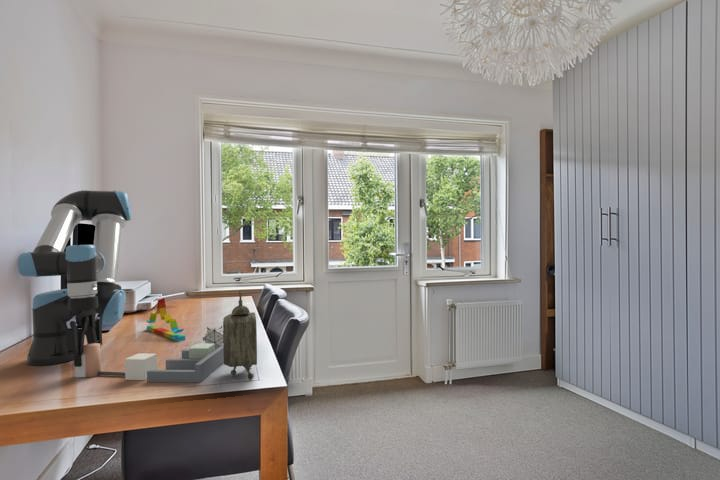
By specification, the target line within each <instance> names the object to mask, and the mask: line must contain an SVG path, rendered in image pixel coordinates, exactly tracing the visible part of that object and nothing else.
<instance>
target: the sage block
mask: <svg viewBox="0 0 720 480" xmlns="http://www.w3.org/2000/svg"><path fill="white" fill-rule="evenodd" d="M188 350H189V359H204V358H205V357H206V356H208V355H209V354H211V353H212V352H213V351H215V350H216V348H215V343H206V342H205V343H202V342H200V343H196V344H194V345H192V346H190V347H189V348H188Z"/></svg>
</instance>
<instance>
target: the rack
mask: <svg viewBox="0 0 720 480" xmlns="http://www.w3.org/2000/svg"><path fill="white" fill-rule="evenodd" d="M221 365H224V352H223V345H222V346H220V347H219V348H215V351H213V352H212V353H211V354H209V355H208V356H206V357H205V358H204V359H189V349H182V350H181V358H167V359H166V360H165V369H157V370H148V371H147V379H146V382H147V383H201V382H203V381H204V380H205V379H206V378H208V377H209V376H210V375H211V374H212V373H214V371H216V370H217V369H218V368H220V367H221Z"/></svg>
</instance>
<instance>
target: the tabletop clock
mask: <svg viewBox="0 0 720 480" xmlns="http://www.w3.org/2000/svg"><path fill="white" fill-rule="evenodd" d="M238 293H239V300H238V305H237V306H235V307H234V308H233V309H232V311H231V313H229V314H227V315H226V316H224V317H223V321H222V331H223V352H224V363H223V365H225V366H226V367H229V368H232V370H231V371H230V375H231V376H236V374H237V370H236V369H237V367H243V368H244V369H245V371H246V372H247V378H248V379H249V380H252V379H254V373H251V371H250V369H251V368H252V367H253V366H255V365H258V343H257V342H258V338H257V337H258V336H257V333H258V332H257V316H256V313H255V312H251V311H250V309H249V308H248V306H246V305H243V300H242V290H239V292H238Z"/></svg>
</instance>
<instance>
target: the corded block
mask: <svg viewBox="0 0 720 480" xmlns="http://www.w3.org/2000/svg"><path fill="white" fill-rule="evenodd" d="M100 346H101V345H100V343H91V344H84V347H83V354H85V361H86V377H85V378H93V377H97V376H121V377H123V376H124V379H125V381H147V371H148V370H158V354H157V353H143V352H140V353H136V354H133V355H132V356H129V357H126V358H125V359H124V371H102V368H101V367H102V366H101V362H102V361H101V348H100Z"/></svg>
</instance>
